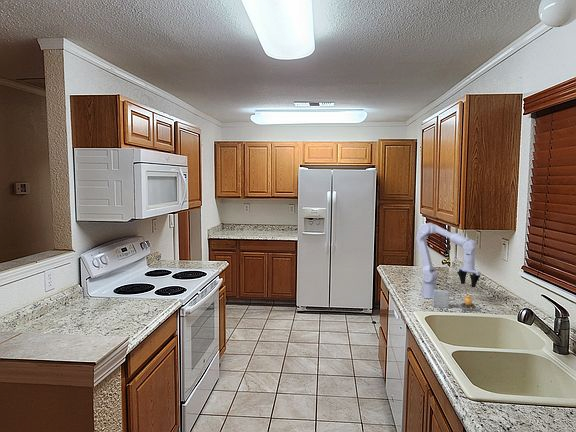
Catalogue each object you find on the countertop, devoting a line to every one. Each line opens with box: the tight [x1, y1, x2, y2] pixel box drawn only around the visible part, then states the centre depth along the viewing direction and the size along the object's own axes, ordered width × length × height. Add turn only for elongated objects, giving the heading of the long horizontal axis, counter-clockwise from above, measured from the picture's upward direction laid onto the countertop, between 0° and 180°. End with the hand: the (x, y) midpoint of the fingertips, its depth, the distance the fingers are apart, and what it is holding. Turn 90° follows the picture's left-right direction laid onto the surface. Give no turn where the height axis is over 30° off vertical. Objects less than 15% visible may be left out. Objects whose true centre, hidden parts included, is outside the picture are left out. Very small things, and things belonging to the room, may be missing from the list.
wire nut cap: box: [464, 294, 473, 306], centre depth 211 cm, size 3×3×6 cm
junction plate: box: [455, 302, 482, 312], centre depth 211 cm, size 10×9×2 cm
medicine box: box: [432, 289, 450, 309], centre depth 213 cm, size 8×4×9 cm, turn 74°
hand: (468, 285), depth 218 cm, fingers open, 7 cm apart
